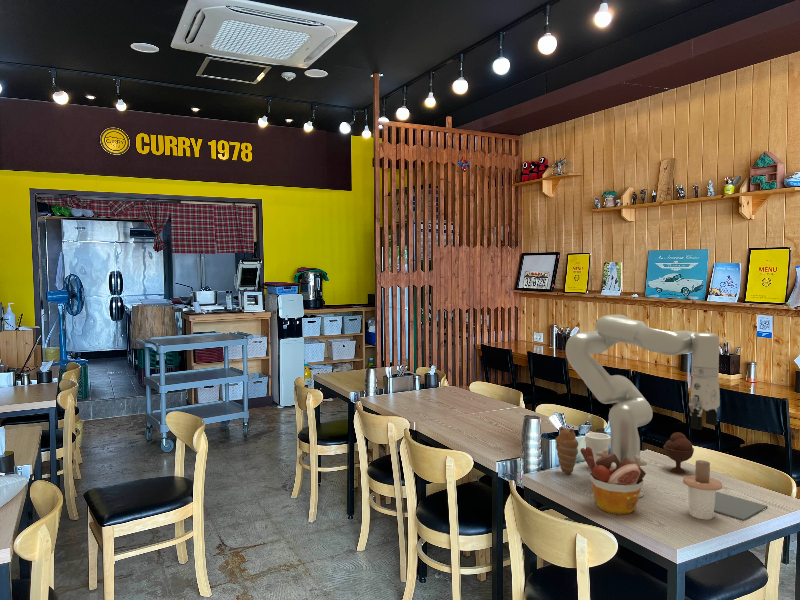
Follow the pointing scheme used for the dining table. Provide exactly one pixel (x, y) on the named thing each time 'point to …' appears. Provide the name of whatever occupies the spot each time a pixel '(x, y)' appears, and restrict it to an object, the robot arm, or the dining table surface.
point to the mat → (736, 506)
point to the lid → (702, 478)
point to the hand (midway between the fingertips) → (703, 426)
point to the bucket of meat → (615, 481)
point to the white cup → (701, 503)
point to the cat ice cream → (567, 449)
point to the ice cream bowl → (678, 451)
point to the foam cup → (597, 443)
